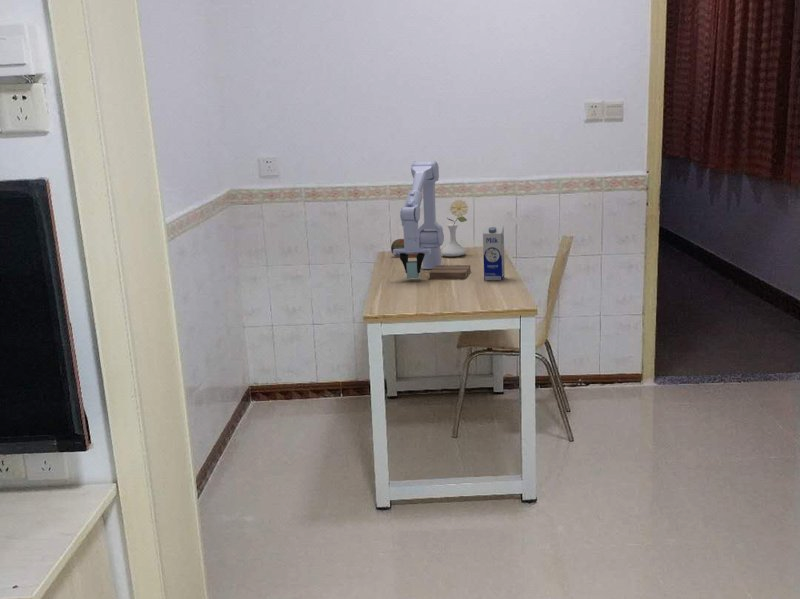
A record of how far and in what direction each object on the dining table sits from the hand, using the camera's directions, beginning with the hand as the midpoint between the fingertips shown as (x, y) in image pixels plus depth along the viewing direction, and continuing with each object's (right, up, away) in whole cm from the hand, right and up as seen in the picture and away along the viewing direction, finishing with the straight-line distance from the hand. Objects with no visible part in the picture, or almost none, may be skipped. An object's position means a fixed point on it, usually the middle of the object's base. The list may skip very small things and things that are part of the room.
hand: (413, 272), depth 305 cm
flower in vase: (+20, +9, +45) cm, 50 cm away
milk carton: (+31, -3, -4) cm, 31 cm away
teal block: (0, -2, 0) cm, 2 cm away
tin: (-1, +8, +49) cm, 50 cm away
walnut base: (+15, -1, +6) cm, 16 cm away
